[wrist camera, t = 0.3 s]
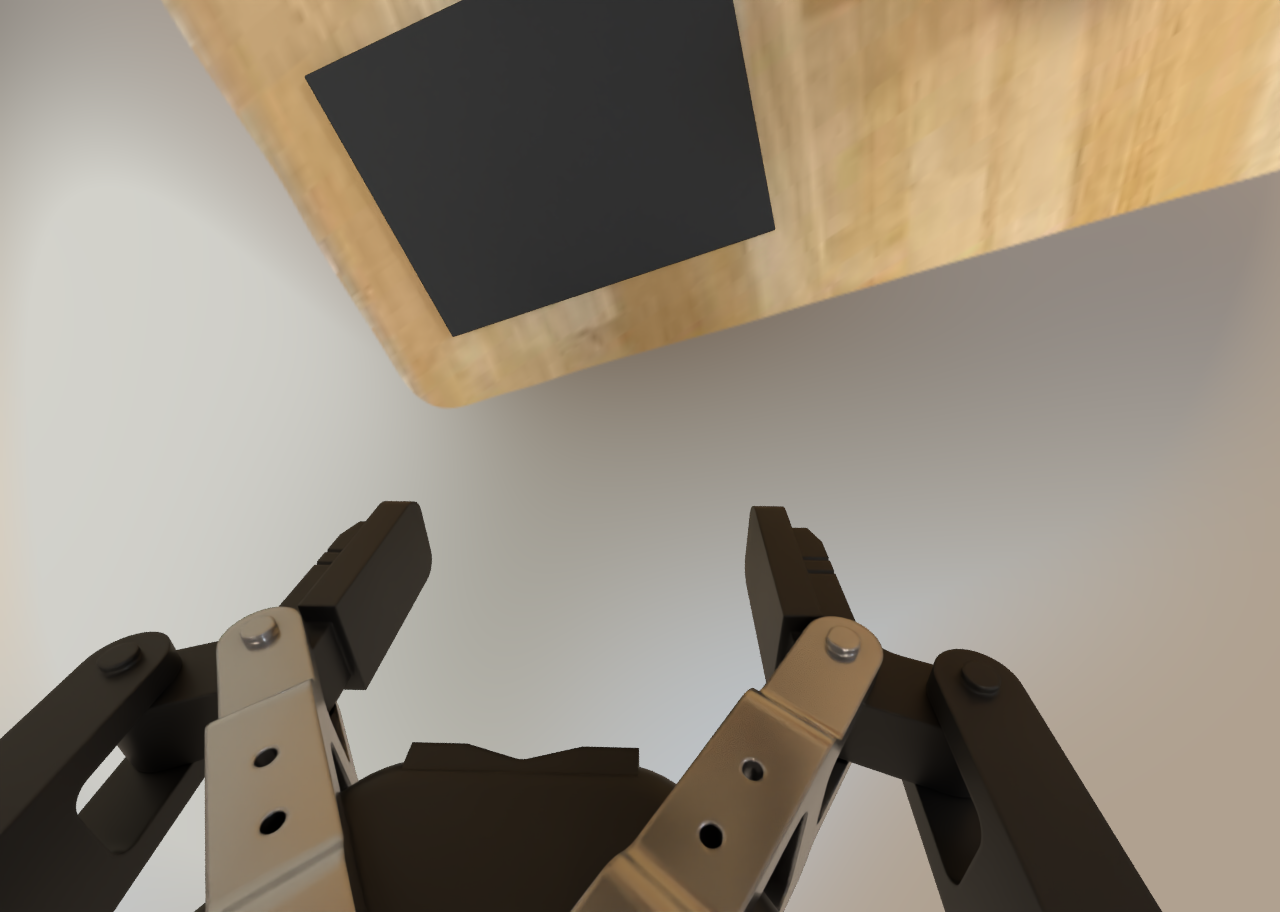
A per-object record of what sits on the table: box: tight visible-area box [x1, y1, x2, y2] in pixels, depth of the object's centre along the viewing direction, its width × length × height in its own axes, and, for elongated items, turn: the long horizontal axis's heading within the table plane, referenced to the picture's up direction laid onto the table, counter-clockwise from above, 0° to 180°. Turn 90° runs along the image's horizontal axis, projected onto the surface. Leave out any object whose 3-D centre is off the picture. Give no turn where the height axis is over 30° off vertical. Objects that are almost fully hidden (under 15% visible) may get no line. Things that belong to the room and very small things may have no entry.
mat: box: [305, 0, 775, 337], centre depth 28 cm, size 20×14×1 cm
